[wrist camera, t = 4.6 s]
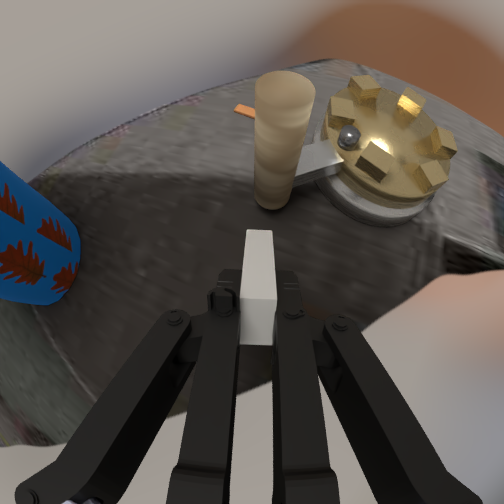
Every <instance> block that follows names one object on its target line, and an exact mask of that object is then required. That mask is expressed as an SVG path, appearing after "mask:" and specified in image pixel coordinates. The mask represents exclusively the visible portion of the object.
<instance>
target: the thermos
mask: <svg viewBox="0 0 504 504" xmlns="http://www.w3.org/2000/svg"><path fill="white" fill-rule="evenodd" d="M80 258H81V249H80V238H79V235H78V232H77V228H76V226H75V225H74V224H73V223H72V222H71V221H70V219H69V218H68V217H66V216H65V215H64V214H63V213H62V212H61V211H60V210H59V209H57V208H56V207H55V206H54V205H53V204H52V203H51V202H49V201H48V200H47V199H46V198H44V197H43V196H42V195H40V194H39V193H38V192H37V191H35V190H34V189H33V188H32V187H30V186H29V185H28V184H27V183H25V182H24V181H23V180H22V179H21V178H19V177H18V176H17V175H16V174H15V173H13V172H12V171H11V170H10V169H9V168H8V167H6V166H5V165H4V164H3V163H2V162H1V161H0V298H2V299H6V300H10V301H14V302H21V303H28V304H36V305H50V304H52V303H54V302H56V301H58V300H60V299H61V297H62V296H63V295H64V294H65V293H66V292H67V291H68V290H69V289H70V286H71V284H72V283H73V281H74V279H75V277H76V275H77V271H78V266H79V262H80Z"/></svg>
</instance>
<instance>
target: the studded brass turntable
mask: <svg viewBox="0 0 504 504" xmlns="http://www.w3.org/2000/svg"><path fill="white" fill-rule="evenodd" d="M314 97H315V88H314V86H313V84H312V83H311V82H310V81H309V80H308V79H307V78H305V77H304V76H302V75H300V74H297V73H294V72H289V71H273V72H269V73H266V74H264V75H262V76H261V77H260V78H259V79H258V80H257V82H256V84H255V155H254V197H255V199H256V201H257V203H258V204H259V205H260V206H262V207H264V208H266V209H270V210H275V209H279V208H282V207H283V206H285V205H286V204H287V202H288V200H289V198H290V194H291V190H292V188H293V187H296V186H298V185H301V184H304V183H307V182H310V181H313V180H316V179H319V178H322V177H325V176H329V175H332V174H336V175H337V177H338V178H339V179H340V180H341V181H342V182H343V183H344V184H345V185H346V186H347V187H348V188H350V189H351V190H352V191H353V192H355V193H356V194H358V195H359V196H361V197H362V198H364V199H366V200H368V201H370V202H372V203H374V204H377V205H379V206H383V207H387V208H392V209H407V208H412V207H415V206H418V205H419V204H421V203H423V202H424V201H425V200H426V199H427V198H428V197H430V196H431V195H432V194H433V193H434V192H435V191H436V190H437V189H439V188H440V187H441V186H442V185H443V184H444V183H446V182H447V181H448V180H449V179H448V174H449V170H450V159H451V158H452V157H453V156H454V155H455V154H456V152H457V151H458V150H457V147H456V144H455V140H454V137H453V134H452V132H450V131H448V130H445V129H443V128H440V127H438V126H436V125H435V123H434V122H433V121H432V120H431V118H430V117H429V116H428V115H427V114H426V113H425V112H424V111H423V110H422V108H423V106H424V104H425V102H426V99H425V98H423V97H422V96H420V95H419V94H417V93H416V92H415V91H413V90H412V89H410V88H409V87H407V88H406V89H405V91H404V92H403V94H402V96H401V95H399V94H397V93H395V92H393V91H390V90H387V89H385V88H381V87H380V86H379V85H378V83H377V82H376V81H375V80H374V79H373V78H372V77H371V76H370V75H363V76H353V77H351V78H350V81H349V84H348V87H347V88H345V89H343V90H341V91H339V92H338V93H336V94H335V95H334V96H331V97H330V100H329V103H328V107H327V111H326V114H325V118H324V121H323V124H322V128H321V133H320V142H317V143H313V144H310V145H306V146H303V143H304V139H305V135H306V131H307V126H308V122H309V118H310V114H311V110H312V106H313V102H314Z"/></svg>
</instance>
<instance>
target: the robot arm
mask: <svg viewBox="0 0 504 504" xmlns="http://www.w3.org/2000/svg"><path fill="white" fill-rule="evenodd" d="M207 300H208V311H207V312H206V313H204V314H201V315H197V316H191V317H190V315H189V314H188V313H187V312H185V311H183V310H178V309H175V310H169V311H167V312H165V313H164V314H162V315H161V316H160V318H159V319H158V320H157V322H156V323H155V324H154V326H153V327H152V328H151V329H150V331H149V332H148V333H147V335H146V336H145V337H144V339H143V340H142V341H141V342H140V344H139V345H138V346H137V348H136V349H135V350H134V352H133V353H132V354H131V356H130V357H129V358H128V360H127V361H126V362H125V364H124V365H123V366H122V368H121V369H120V370H119V372H118V373H117V374H116V376H115V377H114V379H113V380H112V381H111V383H110V384H109V385H108V387H107V388H106V389H105V391H104V392H103V394H102V395H101V396H100V398H99V399H98V400H97V402H96V403H95V405H94V406H93V407H92V409H91V410H90V412H89V413H88V414H87V416H86V417H85V419H84V420H83V422H82V423H81V424H80V426H79V427H78V429H77V430H76V432H75V433H74V434H73V436H72V437H71V439H70V440H69V442H68V443H67V445H66V446H65V448H64V449H63V451H62V452H61V454H60V455H59V456H58V458H57V459H56V461H54V462H53V463H51V464H50V465H48V466H47V467H45V468H44V469H42V470H41V471H39V472H38V473H36V474H34V475H33V476H31V477H30V478H29V479H27V480H25V481H24V482H22V483H20V484H19V486H18V487H17V488H16V491H15V501H16V504H117V503H118V501H119V500H120V499H121V497H122V496H123V494H124V493H125V491H126V489H127V488H128V486H129V484H130V482H131V480H132V479H133V477H134V475H135V473H136V471H137V470H138V468H139V466H140V464H141V462H142V460H143V459H144V457H145V455H146V453H147V451H148V449H149V448H150V446H151V444H152V442H153V441H154V439H155V437H156V435H157V433H158V431H159V430H160V428H161V426H162V424H163V422H164V421H165V419H166V417H167V415H168V413H169V412H170V410H171V408H172V406H173V404H174V403H175V401H176V399H177V397H178V395H179V393H180V392H181V390H182V388H183V386H184V384H185V382H186V381H187V379H188V377H189V375H190V373H191V372H192V370H193V368H194V366H195V364H196V361H197V365H196V370H195V375H194V380H193V385H192V390H191V395H190V400H189V405H188V410H187V415H186V422H185V426H184V431H183V437H182V443H181V448H180V454H179V459H178V463H177V465H176V466H175V467H174V468H173V470H172V473H171V477H170V482H169V488H168V494H167V500H166V504H229V500H230V499H229V498H230V474H231V461H232V447H233V434H234V420H235V407H236V393H237V380H238V367H239V354H240V344H250V345H272V342H273V348H272V356H271V364H272V384H273V385H272V389H273V390H272V392H273V495H272V504H340V499H339V489H338V481H337V476H336V474H335V472H334V471H333V470H332V469H331V467H330V462H329V453H328V445H327V437H326V429H325V421H324V414H323V407H322V400H321V393H320V386H319V380H318V376H319V378H320V380H321V382H322V384H323V386H324V388H325V391H326V393H327V395H328V397H329V399H330V401H331V403H332V406H333V408H334V410H335V412H336V414H337V416H338V419H339V421H340V423H341V425H342V427H343V429H344V431H345V434H346V436H347V438H348V440H349V442H350V445H351V447H352V449H353V451H354V453H355V455H356V457H357V460H358V462H359V464H360V466H361V468H362V471H363V473H364V475H365V477H366V479H367V482H368V484H369V486H370V488H371V490H372V493H373V495H374V497H375V499H376V501H377V502H378V504H483V502H482V500H481V499H480V498H479V496H477V495H476V494H475V493H473V492H472V491H471V490H470V489H469V488H467V487H466V486H465V485H463V484H462V483H461V482H460V481H458V480H457V479H456V478H455V477H454V476H452V475H451V474H450V473H449V472H447V470H446V468H445V467H444V465H443V463H442V462H441V460H440V458H439V456H438V454H437V453H436V451H435V449H434V447H433V446H432V444H431V442H430V441H429V439H428V437H427V435H426V434H425V432H424V430H423V429H422V427H421V425H420V424H419V422H418V420H417V419H416V417H415V416H414V414H413V412H412V411H411V409H410V408H409V406H408V404H407V403H406V401H405V399H404V398H403V396H402V395H401V393H400V392H399V390H398V388H397V387H396V385H395V384H394V382H393V380H392V379H391V377H390V376H389V374H388V373H387V371H386V370H385V368H384V367H383V365H382V363H381V362H380V360H379V359H378V357H377V356H376V355H375V353H374V351H373V350H372V349H371V347H370V345H369V344H368V342H367V341H366V340H365V338H364V337H363V335H362V334H361V332H360V331H359V329H358V328H357V326H356V325H355V323H354V322H353V321H352V320H351V319H350V318H348V317H346V316H343V315H332V316H329V317H328V318H327V319H326V321H323V320H319V319H315V318H313V317H311V316H309V315H308V314H307V312H306V310H305V309H304V308H303V305H302V299H301V294H300V289H299V284H298V278H297V276H296V275H295V274H294V272H293V271H276V270H275V263H274V250H273V237H272V231H270V230H247V233H246V242H245V252H244V261H243V270H234V269H224V270H223V271H222V272H221V273H220V274H219V278H218V282H217V287H216V288H213V289H212V290H211V291H209V293H208V294H207Z"/></svg>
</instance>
